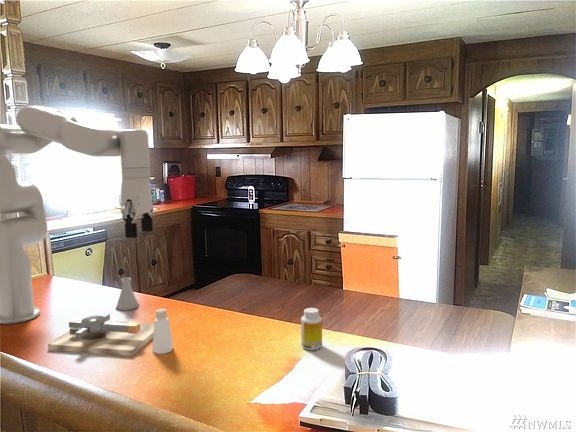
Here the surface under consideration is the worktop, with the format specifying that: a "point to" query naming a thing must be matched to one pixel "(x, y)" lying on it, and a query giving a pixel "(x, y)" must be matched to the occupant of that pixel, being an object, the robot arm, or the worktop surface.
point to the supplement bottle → (311, 329)
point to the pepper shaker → (162, 333)
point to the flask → (127, 296)
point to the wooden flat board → (105, 341)
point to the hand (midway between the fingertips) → (139, 234)
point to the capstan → (101, 327)
